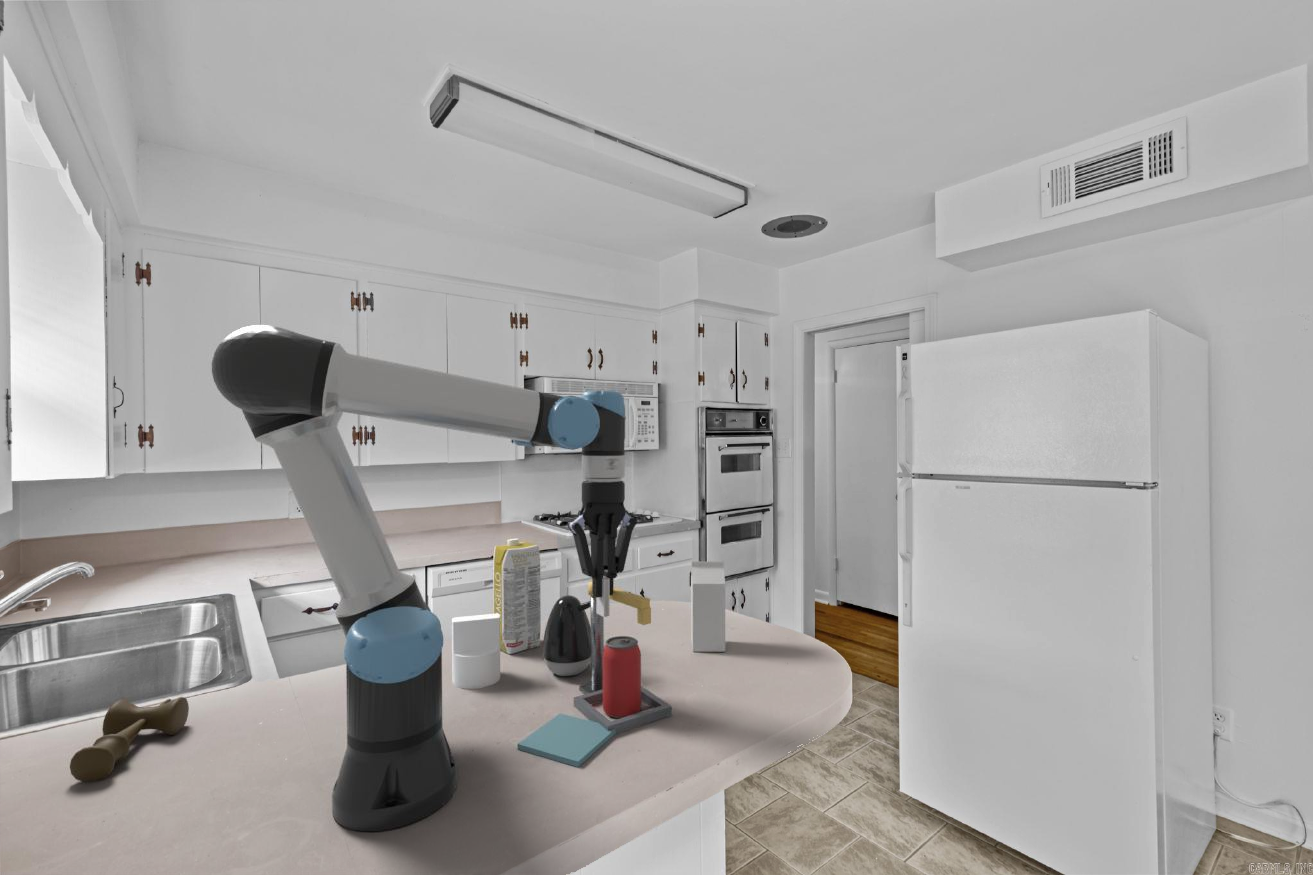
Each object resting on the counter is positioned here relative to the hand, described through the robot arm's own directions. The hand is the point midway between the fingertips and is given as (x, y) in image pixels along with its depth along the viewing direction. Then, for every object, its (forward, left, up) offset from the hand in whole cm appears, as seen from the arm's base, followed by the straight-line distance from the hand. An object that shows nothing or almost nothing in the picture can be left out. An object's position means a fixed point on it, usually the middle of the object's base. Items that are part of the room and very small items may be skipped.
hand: (602, 614), depth 105 cm
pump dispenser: (+10, +14, -16) cm, 24 cm away
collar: (0, -4, -16) cm, 17 cm away
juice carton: (+16, +32, -16) cm, 39 cm away
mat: (-12, -1, -16) cm, 20 cm away
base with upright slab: (-1, +28, -16) cm, 33 cm away
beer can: (0, -4, -16) cm, 17 cm away
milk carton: (+35, -6, -16) cm, 39 cm away
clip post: (+4, +4, -16) cm, 17 cm away
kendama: (-43, +58, -17) cm, 74 cm away
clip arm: (+2, -2, 0) cm, 3 cm away
